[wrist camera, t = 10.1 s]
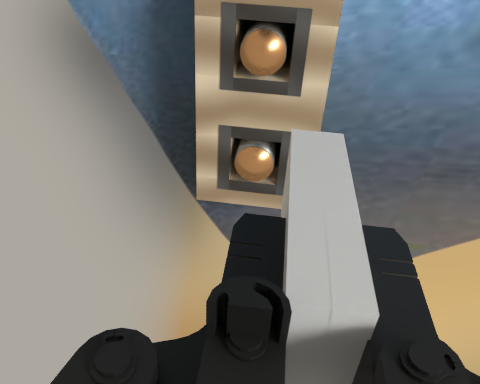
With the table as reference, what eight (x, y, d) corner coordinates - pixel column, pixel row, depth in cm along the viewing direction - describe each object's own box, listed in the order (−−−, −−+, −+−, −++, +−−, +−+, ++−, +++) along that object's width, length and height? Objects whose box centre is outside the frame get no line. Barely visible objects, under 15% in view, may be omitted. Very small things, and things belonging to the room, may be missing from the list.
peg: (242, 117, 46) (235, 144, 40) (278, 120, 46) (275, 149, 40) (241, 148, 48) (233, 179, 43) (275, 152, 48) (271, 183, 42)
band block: (209, -34, 39) (194, -25, 33) (338, -25, 38) (345, -14, 32) (208, 167, 51) (196, 200, 45) (305, 177, 50) (306, 212, 45)
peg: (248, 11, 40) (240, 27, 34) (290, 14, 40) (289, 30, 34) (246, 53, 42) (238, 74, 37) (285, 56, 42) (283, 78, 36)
